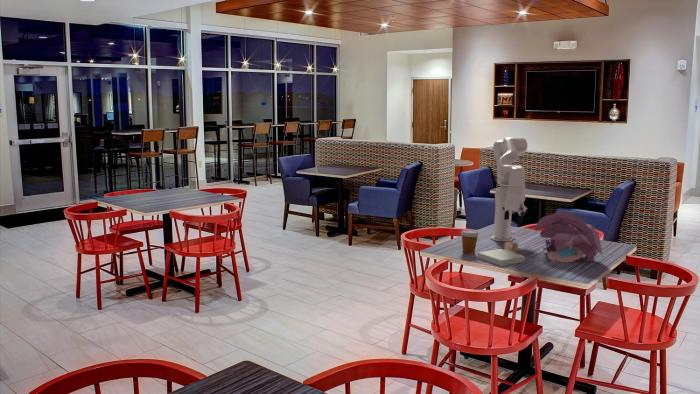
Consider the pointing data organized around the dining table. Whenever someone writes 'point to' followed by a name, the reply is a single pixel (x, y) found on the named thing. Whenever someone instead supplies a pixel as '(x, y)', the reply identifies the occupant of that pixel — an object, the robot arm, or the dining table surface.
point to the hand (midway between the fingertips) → (513, 221)
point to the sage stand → (501, 257)
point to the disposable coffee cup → (469, 241)
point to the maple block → (511, 247)
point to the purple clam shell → (568, 237)
